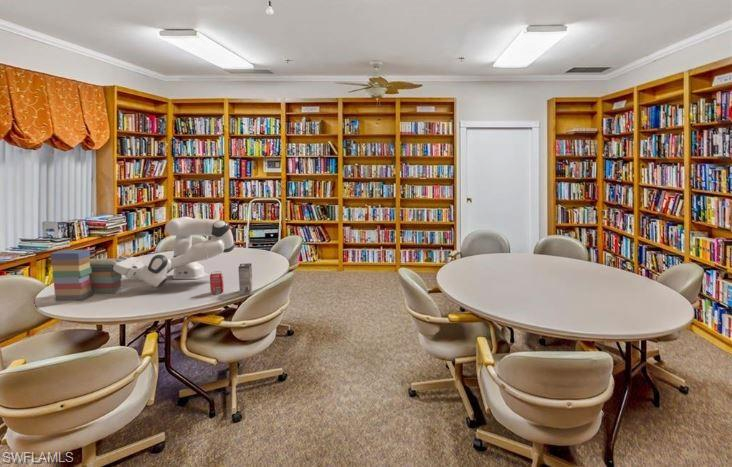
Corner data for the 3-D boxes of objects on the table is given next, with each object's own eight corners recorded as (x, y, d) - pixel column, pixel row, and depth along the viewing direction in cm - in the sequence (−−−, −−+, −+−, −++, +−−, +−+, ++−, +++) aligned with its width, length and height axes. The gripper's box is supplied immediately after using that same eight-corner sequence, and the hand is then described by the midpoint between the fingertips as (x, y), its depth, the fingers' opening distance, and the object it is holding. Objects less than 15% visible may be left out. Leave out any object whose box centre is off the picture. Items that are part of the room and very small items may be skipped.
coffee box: (241, 290, 238) (240, 263, 236) (252, 289, 240) (251, 263, 237) (239, 294, 229) (238, 267, 227) (251, 294, 231) (250, 266, 228)
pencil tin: (124, 263, 234) (124, 258, 234) (121, 265, 231) (121, 259, 230) (81, 264, 233) (80, 259, 232) (77, 265, 229) (76, 260, 229)
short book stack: (122, 288, 240) (120, 262, 237) (113, 293, 230) (111, 266, 227) (94, 289, 238) (91, 262, 236) (84, 294, 229) (81, 266, 226)
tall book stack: (94, 295, 227) (89, 249, 223) (83, 300, 217) (78, 253, 213) (67, 295, 226) (62, 249, 222) (55, 301, 216) (50, 253, 212)
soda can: (218, 290, 238) (217, 270, 236) (226, 292, 234) (225, 272, 232) (208, 293, 232) (207, 272, 230) (215, 295, 228) (214, 274, 226)
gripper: (148, 261, 244) (126, 250, 242) (131, 269, 223) (107, 257, 222) (143, 270, 244) (121, 259, 242) (126, 279, 224) (102, 267, 222)
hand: (114, 258), depth 232 cm, fingers open, 8 cm apart
